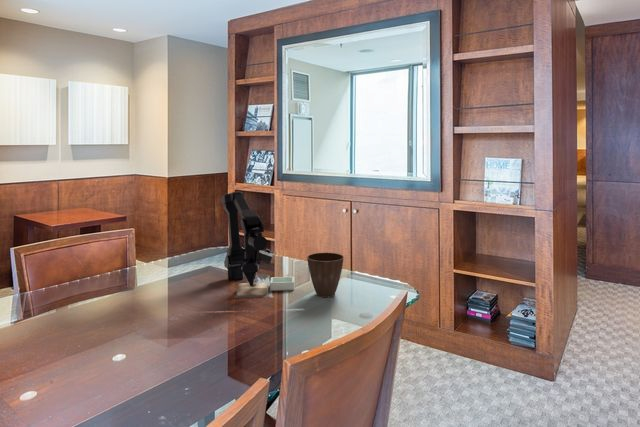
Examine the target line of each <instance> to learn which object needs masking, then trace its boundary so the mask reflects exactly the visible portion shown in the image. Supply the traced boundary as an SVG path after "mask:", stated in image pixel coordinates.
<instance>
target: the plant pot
mask: <svg viewBox="0 0 640 427" xmlns="http://www.w3.org/2000/svg"><path fill="white" fill-rule="evenodd" d="M306 260H307V265H308V271H309V275H310V279H311V283H312V285H313V289H314V292H315V293H316V296H317V297H319V298H331V297H334V296H335V295H336V293H337V292H336V291H337V289H338V286H339V283H340V280H341V277H342V276H341V275H342V272H343V271H342V270H343V265H344V255H342V254H340V253H335V252H317V253H311V254H308V255H307V256H306Z"/></svg>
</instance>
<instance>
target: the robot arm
mask: <svg viewBox="0 0 640 427" xmlns="http://www.w3.org/2000/svg"><path fill="white" fill-rule="evenodd" d="M220 201H221V204H222V207H223V210H224V211H225V212H226V214H227V227H228V237H229V238H228V240H229V247H228V248H227V250H226V256H225V258H224V261H223V265H224V268H226V269H227V280H226V281H227V282H231V281H232V282H233V281H235V282H239V281H240V282H241V281H242V280H244V278H246V280H247V283H249V284H250V286H253V283H255V282H254V281H255V279H256V276H257V275H256V274H257V273H258V272H259V265H260V264H261V262H265V263H266V264H271V262H272V258H273V253H272V252H271V249H269V248H267V245H268V240H267V239H266V237H265V236H263V233H264V232H265V231H264V229H265V226H264V224H263V221H262V218H261V217H260V216H259V215H258V213H257V212H256V211H253V210H252V209H251V207H250V205H249V204H248V202H247V200H246V198H245V194H244V192H243V191H233V192H230V193H224V194H223V195H222V196H221V200H220ZM239 215H240V221H239ZM239 222H240V224H239ZM240 227H241V229H242V233H243V238H244V239H243V240H244V242H243V243H244V245H243V246H244V248H243V247H242V245H241V238H240V237H241V236H240ZM264 249H265V250H264Z"/></svg>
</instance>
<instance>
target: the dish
mask: <svg viewBox="0 0 640 427" xmlns="http://www.w3.org/2000/svg"><path fill="white" fill-rule="evenodd" d="M269 282H270V283H269V286H270V287H269V288H270V292H272V291H273V292H275V291H278V292H279V291H295V276H276V277H275V276H274V277H272V276H271V277H270V281H269Z"/></svg>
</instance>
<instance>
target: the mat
mask: <svg viewBox="0 0 640 427" xmlns="http://www.w3.org/2000/svg"><path fill="white" fill-rule="evenodd" d="M270 294H271V291H270V287H268V293H267V295H243V296H238V294H237V291H236V293H235V295H234V297H233V298H235V299H238V298H239V299H241V298H242V299H244V298H269V297H270Z"/></svg>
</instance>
